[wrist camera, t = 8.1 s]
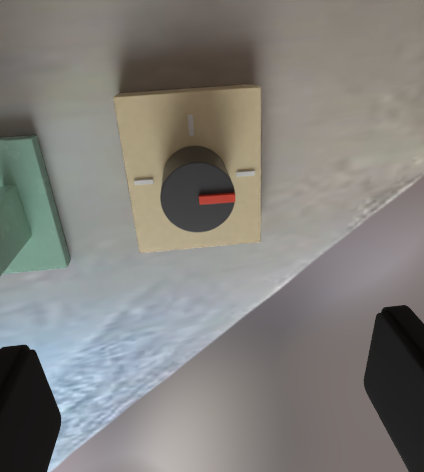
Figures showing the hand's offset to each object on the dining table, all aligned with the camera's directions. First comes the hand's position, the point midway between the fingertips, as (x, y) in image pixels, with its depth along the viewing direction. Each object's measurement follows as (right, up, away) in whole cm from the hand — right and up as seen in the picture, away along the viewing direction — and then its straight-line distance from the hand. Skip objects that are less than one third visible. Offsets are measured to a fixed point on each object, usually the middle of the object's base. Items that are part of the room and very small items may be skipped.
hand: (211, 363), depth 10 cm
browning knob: (-1, +8, +17) cm, 19 cm away
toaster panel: (-1, +9, +19) cm, 21 cm away
